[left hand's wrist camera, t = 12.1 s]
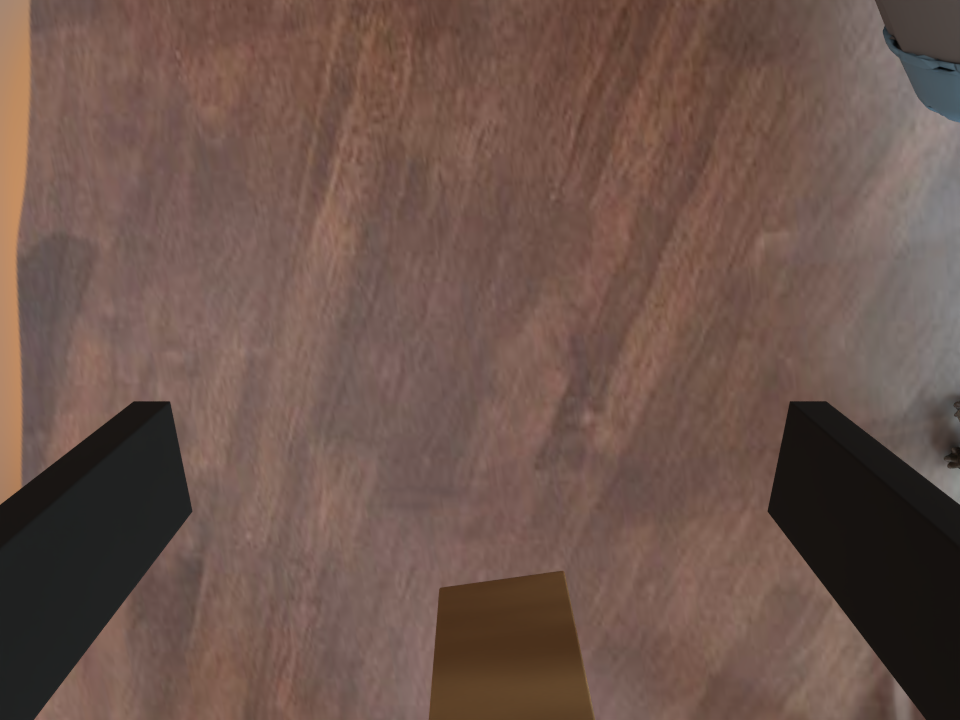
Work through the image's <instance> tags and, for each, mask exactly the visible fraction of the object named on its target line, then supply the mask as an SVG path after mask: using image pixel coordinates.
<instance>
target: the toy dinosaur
mask: <svg viewBox="0 0 960 720" xmlns="http://www.w3.org/2000/svg"><path fill="white" fill-rule="evenodd" d="M954 407H956V408H957V409H958V411H957V412H956V413H955V414H954V416H955V417H958V419H959V421H960V401H959V402H956V403H955V404H954ZM951 450H952V454H950V455H948V456H945V457H944V460H946V461H949V464H948V466H947V467H948V468H950V469H951V468H959V469H960V448H957V447H953V448H951Z"/></svg>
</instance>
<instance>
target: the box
mask: <svg viewBox="0 0 960 720" xmlns="http://www.w3.org/2000/svg"><path fill="white" fill-rule="evenodd" d="M429 720H595V717H594V712H593V707H592V702H591V697H590V693H589V688H588V683H587V678H586V673H585V669H584V664H583V659H582V654H581V650H580V645H579V640H578V635H577V630H576V626H575V621H574V616H573V611H572V607H571V602H570V597H569V592H568V587H567V583H566V578H565V573H564V571H558V572H550V573H543V574H536V575H529V576H522V577H515V578H507V579H500V580H493V581H486V582H479V583H471V584H464V585H457V586H450V587H443V588H440V589H439V600H438V612H437V625H436V637H435V650H434V662H433V674H432V687H431V699H430V712H429Z"/></svg>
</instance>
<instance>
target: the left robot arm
mask: <svg viewBox="0 0 960 720" xmlns="http://www.w3.org/2000/svg"><path fill="white" fill-rule="evenodd" d="M875 1H876V4H877V6H878V9H879V11H880V14H881V17H882V19H883V22H884V24H885V27H884V29H883V35H884V38H885V41H886V44H887V45H888V47H889V49H890V50H891V51H892V52H893V53H894V54H895V55H896V56H898V57H899V58H900V60H901V63H902V65H903V67H904V69H905V71H906V73H907V76H908V78H909V80H910V82H911V84H912V86H913V89H914V91H915V93H916V95H917V96H918V98H919V99H920V101H921V102H922V103H923V104H924V105H925V106H926V107H927V108H928V109H930V110H932V111H934V112H937V113H939V114H940V115H942V116H945V117H946V118H948V119H949V120H952V121H956V122H960V0H875ZM191 513H192V507H191V502H190V497H189V492H188V488H187V483H186V478H185V473H184V468H183V463H182V458H181V453H180V448H179V443H178V438H177V434H176V429H175V424H174V419H173V414H172V409H171V404H170V401H134V402H132V403H131V404H130V405H129V406H127V407H126V408H125V409H123V410H122V411H121V412H120V413H118V414H117V415H116V416H114V417H113V418H112V419H111V420H109V421H108V422H107V423H105V424H104V425H103V426H101V427H100V428H99V429H98V430H96V431H95V432H94V433H92V434H91V435H90V436H89V437H87V438H86V439H85V440H83V441H82V442H81V443H79V444H78V445H77V446H76V447H74V448H73V449H72V450H70V451H69V452H68V453H67V454H65V455H64V456H63V457H61V458H60V459H59V460H58V461H56V462H55V463H54V464H52V465H51V466H50V467H48V468H47V469H46V470H45V471H43V472H42V473H41V474H39V475H38V476H37V477H36V478H34V479H33V480H32V481H30V482H29V483H28V484H27V485H25V486H24V487H23V488H21V489H20V490H19V491H18V492H16V493H15V494H14V495H12V496H11V497H10V498H8V499H7V500H6V501H5V502H3V503H2V504H1V505H0V720H34V719H35V717H36V716H37V715H38V714H39V712H40V711H41V710H42V708H43V707H44V706H45V704H46V703H47V702H48V700H49V699H50V698H51V696H52V695H53V694H54V693H55V691H56V690H57V689H58V687H59V686H60V685H61V683H62V682H63V681H64V679H65V678H66V677H67V675H68V674H69V673H70V672H71V670H72V669H73V668H74V666H75V665H76V664H77V662H78V661H79V660H80V658H81V657H82V656H83V654H84V653H85V652H86V651H87V649H88V648H89V647H90V645H91V644H92V643H93V641H94V640H95V639H96V637H97V636H98V635H99V633H100V632H101V631H102V629H103V628H104V627H105V626H106V624H107V623H108V622H109V620H110V619H111V618H112V616H113V615H114V614H115V612H116V611H117V610H118V608H119V607H120V606H121V605H122V603H123V602H124V601H125V599H126V598H127V597H128V595H129V594H130V593H131V591H132V590H133V589H134V587H135V586H136V585H137V584H138V582H139V581H140V580H141V578H142V577H143V576H144V574H145V573H146V572H147V570H148V569H149V568H150V566H151V565H152V564H153V562H154V561H155V560H156V559H157V557H158V556H159V555H160V553H161V552H162V551H163V549H164V548H165V547H166V545H167V544H168V543H169V541H170V540H171V539H172V538H173V536H174V535H175V534H176V532H177V531H178V530H179V528H180V527H181V526H182V524H183V523H184V522H185V520H186V519H187V518H188V517H189V515H190V514H191ZM768 513H769V514H770V515H771V517H772V518H773V519H774V520H775V522H776V523H777V524H778V526H779V527H780V528H781V530H782V531H783V532H784V534H785V535H786V536H787V538H788V539H789V540H790V541H791V543H792V544H793V545H794V547H795V548H796V549H797V551H798V552H799V553H800V555H801V556H802V557H803V559H804V560H805V561H806V562H807V564H808V565H809V566H810V568H811V569H812V570H813V572H814V573H815V574H816V576H817V577H818V578H819V580H820V581H821V582H822V584H823V585H824V586H825V587H826V589H827V590H828V591H829V593H830V594H831V595H832V597H833V598H834V599H835V601H836V602H837V603H838V605H839V606H840V607H841V608H842V610H843V611H844V612H845V614H846V615H847V616H848V618H849V619H850V620H851V622H852V623H853V624H854V626H855V627H856V628H857V629H858V631H859V632H860V633H861V635H862V636H863V637H864V639H865V640H866V641H867V643H868V644H869V645H870V647H871V648H872V649H873V651H874V652H875V653H876V654H877V656H878V657H879V658H880V660H881V661H882V662H883V664H884V665H885V666H886V668H887V669H888V670H889V672H890V673H891V674H892V675H893V677H894V678H895V679H896V681H897V682H898V683H899V685H900V686H901V687H902V689H903V690H904V691H905V693H906V694H907V695H908V696H909V698H910V699H911V700H912V702H913V703H914V704H915V706H916V707H917V708H918V710H919V711H920V712H921V714H922V715H923V716H924V717H925V719H926V720H960V505H959V504H958V503H957V502H955V501H954V500H953V499H952V498H950V497H949V496H948V495H946V494H945V493H944V492H943V491H941V490H940V489H939V488H937V487H936V486H935V485H933V484H932V483H931V482H930V481H928V480H927V479H926V478H924V477H923V476H922V475H921V474H919V473H918V472H917V471H915V470H914V469H913V468H912V467H910V466H909V465H908V464H906V463H905V462H904V461H902V460H901V459H900V458H899V457H897V456H896V455H895V454H893V453H892V452H891V451H890V450H888V449H887V448H886V447H884V446H883V445H882V444H881V443H879V442H878V441H877V440H875V439H874V438H873V437H871V436H870V435H869V434H868V433H866V432H865V431H864V430H862V429H861V428H860V427H859V426H857V425H856V424H855V423H853V422H852V421H851V420H849V419H848V418H847V417H846V416H844V415H843V414H842V413H840V412H839V411H838V410H837V409H835V408H834V407H833V406H831V405H830V404H829V403H828V402H826V401H790V404H789V409H788V414H787V419H786V424H785V429H784V434H783V438H782V443H781V448H780V453H779V458H778V463H777V468H776V473H775V478H774V483H773V488H772V492H771V497H770V502H769V507H768Z"/></svg>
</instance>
